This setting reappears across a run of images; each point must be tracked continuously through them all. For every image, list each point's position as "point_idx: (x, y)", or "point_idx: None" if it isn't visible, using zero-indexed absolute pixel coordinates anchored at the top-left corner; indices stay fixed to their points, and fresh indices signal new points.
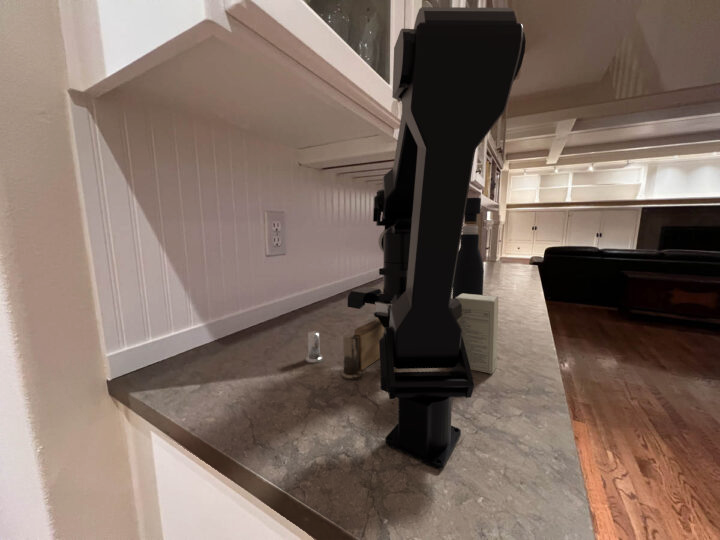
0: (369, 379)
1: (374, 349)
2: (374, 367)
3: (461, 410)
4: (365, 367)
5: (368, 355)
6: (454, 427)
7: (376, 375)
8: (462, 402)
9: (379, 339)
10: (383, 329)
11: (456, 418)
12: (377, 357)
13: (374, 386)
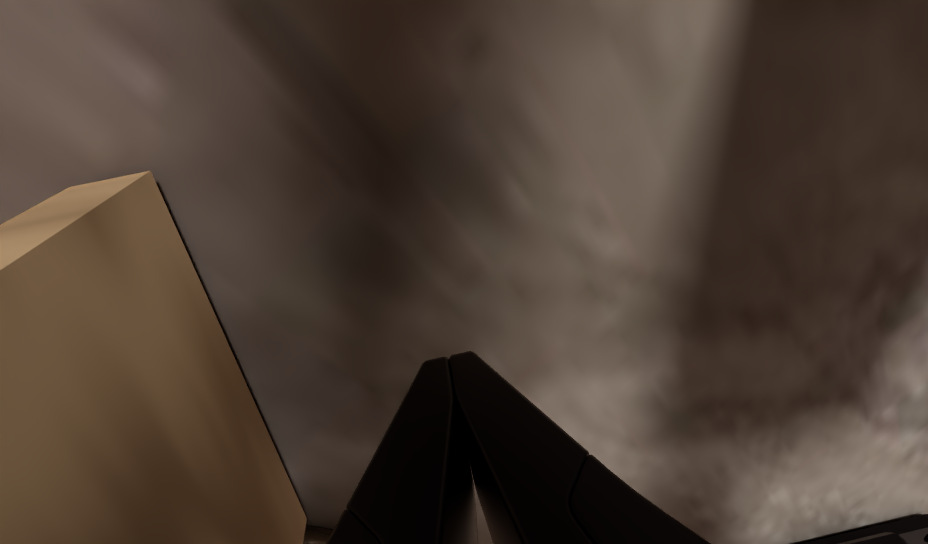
0: None
1: (225, 480)
2: (314, 428)
3: (920, 401)
4: (291, 488)
5: (262, 528)
6: (923, 529)
7: None
8: (921, 349)
9: (155, 467)
10: (41, 474)
11: (905, 454)
12: (229, 371)
13: (486, 541)
